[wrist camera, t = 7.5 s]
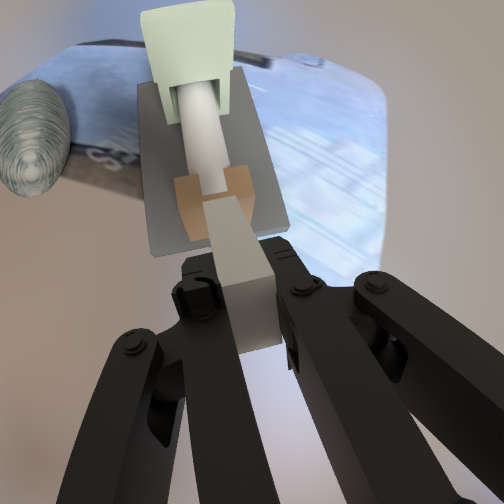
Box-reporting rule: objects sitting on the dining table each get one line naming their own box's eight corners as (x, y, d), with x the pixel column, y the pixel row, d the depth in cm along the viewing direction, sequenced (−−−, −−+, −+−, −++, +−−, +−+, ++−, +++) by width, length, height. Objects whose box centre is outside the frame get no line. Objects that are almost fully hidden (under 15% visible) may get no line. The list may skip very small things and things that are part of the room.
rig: (154, 257, 27) (125, 224, 19) (139, 92, 32) (123, 38, 24) (287, 231, 29) (309, 189, 20) (241, 75, 34) (244, 18, 25)
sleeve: (165, 125, 26) (140, 22, 15) (162, 94, 27) (141, -3, 16) (231, 113, 27) (235, 7, 16) (223, 84, 28) (224, -16, 17)
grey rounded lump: (-3, 115, 27) (-10, 66, 19) (63, 103, 33) (73, 54, 24) (0, 217, 27) (-16, 188, 19) (74, 200, 33) (81, 167, 25)
